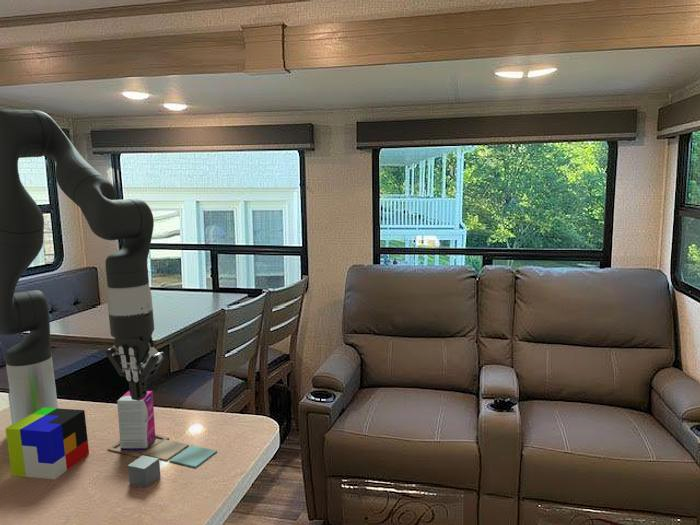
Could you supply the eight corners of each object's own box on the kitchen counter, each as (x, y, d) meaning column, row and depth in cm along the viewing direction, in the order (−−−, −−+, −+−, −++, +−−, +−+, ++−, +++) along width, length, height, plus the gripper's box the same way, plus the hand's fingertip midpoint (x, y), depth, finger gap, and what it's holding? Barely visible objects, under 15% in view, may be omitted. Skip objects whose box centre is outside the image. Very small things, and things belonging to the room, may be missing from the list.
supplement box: (147, 450, 115) (142, 400, 113) (119, 451, 115) (114, 401, 113) (157, 437, 120) (152, 389, 119) (131, 438, 120) (126, 390, 119)
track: (107, 450, 115) (107, 448, 115) (139, 432, 123) (138, 430, 123) (192, 470, 106) (191, 469, 106) (220, 449, 114) (220, 448, 114)
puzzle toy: (54, 479, 104) (49, 431, 103) (11, 475, 106) (5, 428, 105) (89, 454, 114) (84, 410, 113) (49, 450, 116) (43, 407, 115)
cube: (129, 484, 102) (127, 465, 101) (144, 474, 106) (142, 455, 105) (146, 488, 100) (144, 468, 100) (160, 477, 104) (158, 458, 103)
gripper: (87, 311, 96) (97, 401, 99) (142, 316, 91) (151, 411, 94) (120, 302, 103) (128, 386, 106) (173, 306, 98) (180, 396, 101)
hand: (139, 398), depth 100 cm, fingers closed
